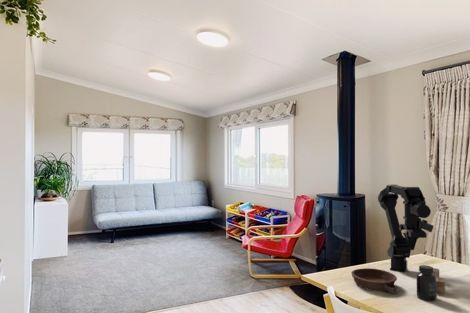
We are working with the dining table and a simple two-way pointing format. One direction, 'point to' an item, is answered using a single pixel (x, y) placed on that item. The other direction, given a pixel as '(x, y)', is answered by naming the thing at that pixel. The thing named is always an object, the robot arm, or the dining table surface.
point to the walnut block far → (436, 272)
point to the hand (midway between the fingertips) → (412, 249)
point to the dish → (375, 279)
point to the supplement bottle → (426, 283)
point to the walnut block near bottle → (440, 286)
